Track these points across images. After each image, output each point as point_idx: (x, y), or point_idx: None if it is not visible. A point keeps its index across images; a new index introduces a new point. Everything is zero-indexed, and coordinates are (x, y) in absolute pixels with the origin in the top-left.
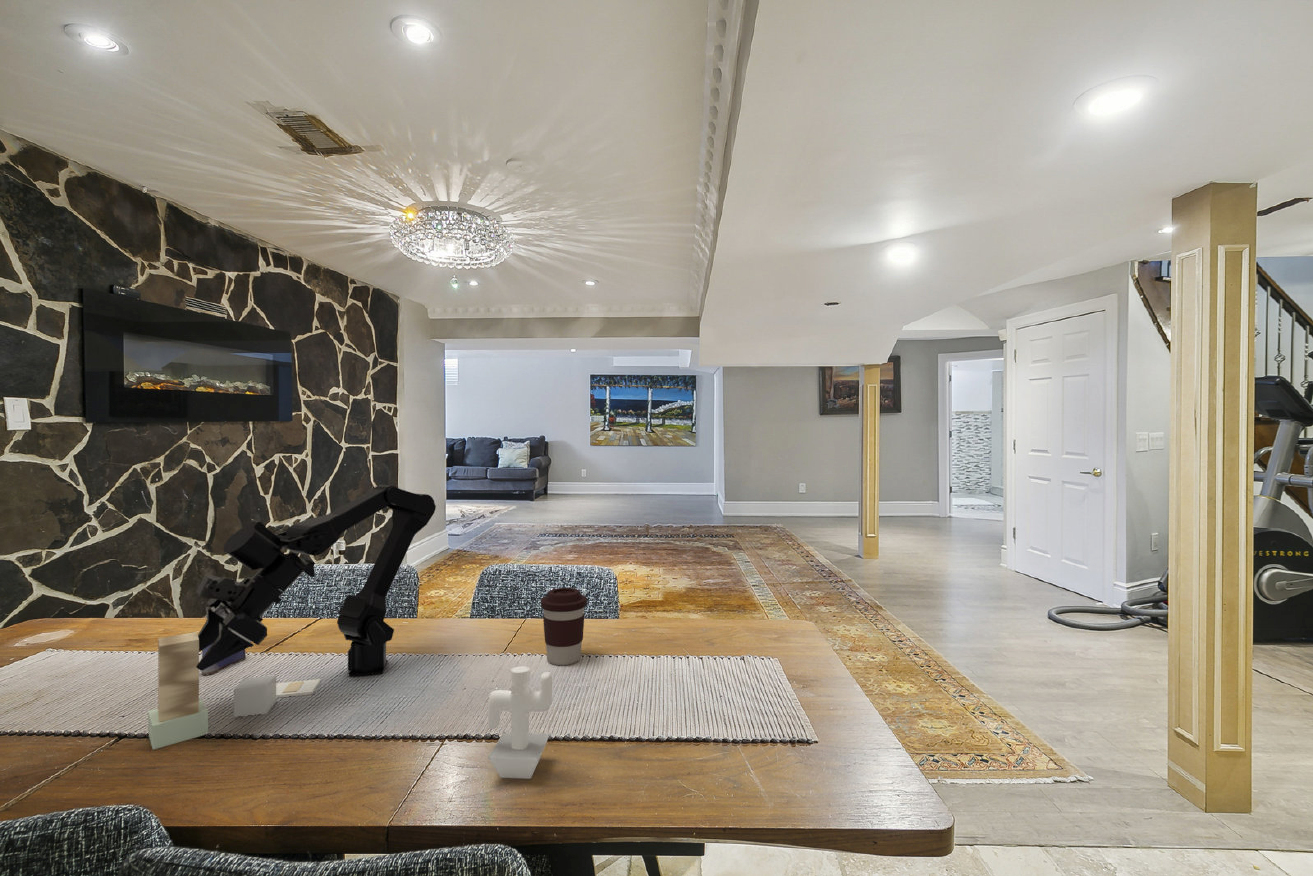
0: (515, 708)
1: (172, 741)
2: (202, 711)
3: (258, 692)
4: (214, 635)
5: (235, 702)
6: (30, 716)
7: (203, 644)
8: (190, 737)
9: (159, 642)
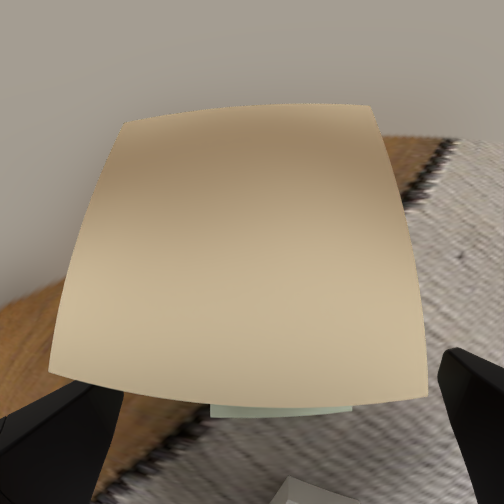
0: None
1: None
2: (221, 405)
3: None
4: (498, 490)
5: (286, 489)
6: (498, 155)
7: (468, 428)
8: None
9: (226, 108)
